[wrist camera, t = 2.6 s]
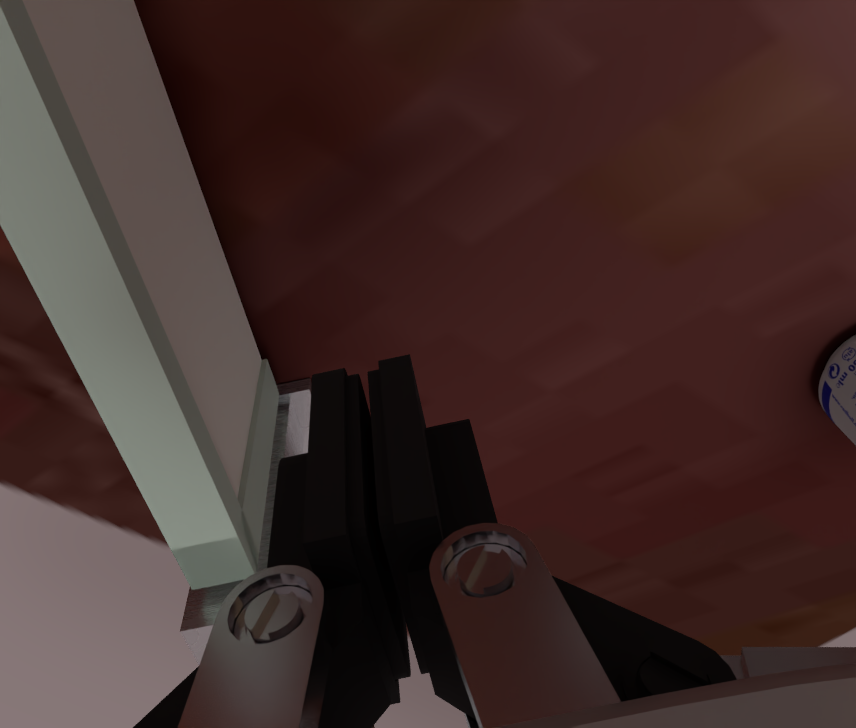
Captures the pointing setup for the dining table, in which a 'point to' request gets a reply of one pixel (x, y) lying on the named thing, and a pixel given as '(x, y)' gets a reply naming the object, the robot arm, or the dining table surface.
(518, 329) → the dining table surface
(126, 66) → the bar
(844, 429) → the beverage can
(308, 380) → the gate posts
